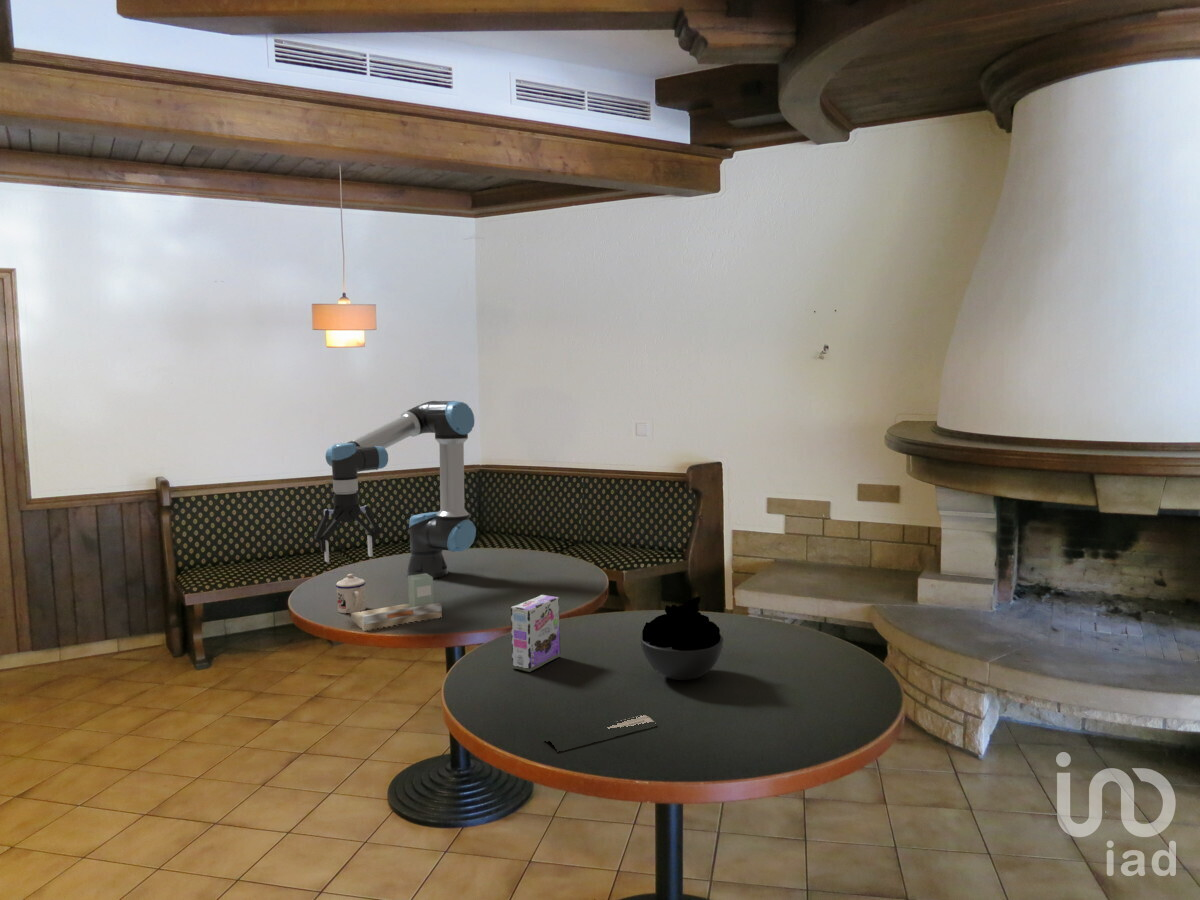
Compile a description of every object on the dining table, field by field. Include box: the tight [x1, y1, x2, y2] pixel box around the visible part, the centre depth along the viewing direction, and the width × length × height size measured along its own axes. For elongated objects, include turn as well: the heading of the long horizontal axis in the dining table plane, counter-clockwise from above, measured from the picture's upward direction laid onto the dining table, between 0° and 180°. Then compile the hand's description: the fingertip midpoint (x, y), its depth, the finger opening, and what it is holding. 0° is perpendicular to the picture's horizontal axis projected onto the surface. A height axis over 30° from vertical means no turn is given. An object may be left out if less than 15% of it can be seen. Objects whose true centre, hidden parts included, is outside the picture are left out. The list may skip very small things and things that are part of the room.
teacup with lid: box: [335, 573, 367, 614], centre depth 269 cm, size 12×9×12 cm
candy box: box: [510, 594, 561, 669], centre depth 217 cm, size 14×6×16 cm, turn 148°
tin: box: [407, 573, 435, 608], centre depth 263 cm, size 6×6×10 cm
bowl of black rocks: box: [640, 596, 724, 681], centre depth 205 cm, size 20×20×19 cm
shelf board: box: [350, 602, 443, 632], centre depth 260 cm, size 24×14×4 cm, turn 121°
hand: (349, 558), depth 268 cm, fingers open, 13 cm apart
